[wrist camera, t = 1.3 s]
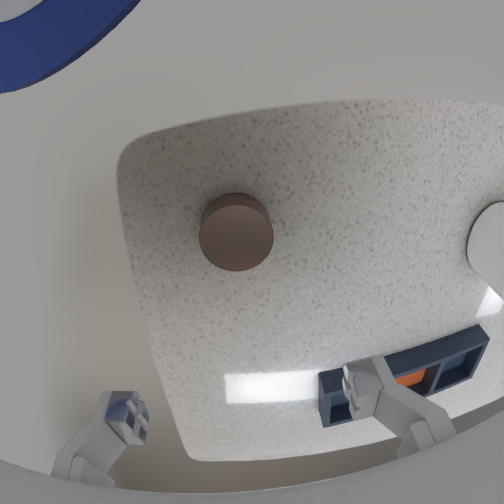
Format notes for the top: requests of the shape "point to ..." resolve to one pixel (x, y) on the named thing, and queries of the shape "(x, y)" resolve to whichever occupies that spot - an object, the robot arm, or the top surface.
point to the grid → (412, 371)
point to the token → (236, 232)
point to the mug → (489, 247)
